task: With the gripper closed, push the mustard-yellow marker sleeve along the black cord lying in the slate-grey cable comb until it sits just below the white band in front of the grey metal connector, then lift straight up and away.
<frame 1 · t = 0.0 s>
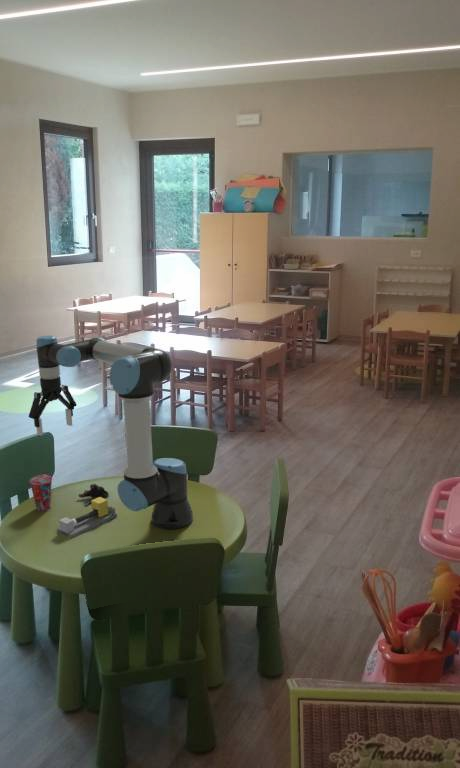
hand: (55, 429, 267), 28 cm above the table, fingers open, 13 cm apart
comb rail: (87, 523, 251), on the table
sleeve: (99, 507, 255), point 4 cm above the table, slide at 0.0 cm
stuffed animal: (94, 499, 273), on the table
cup: (43, 508, 265), on the table
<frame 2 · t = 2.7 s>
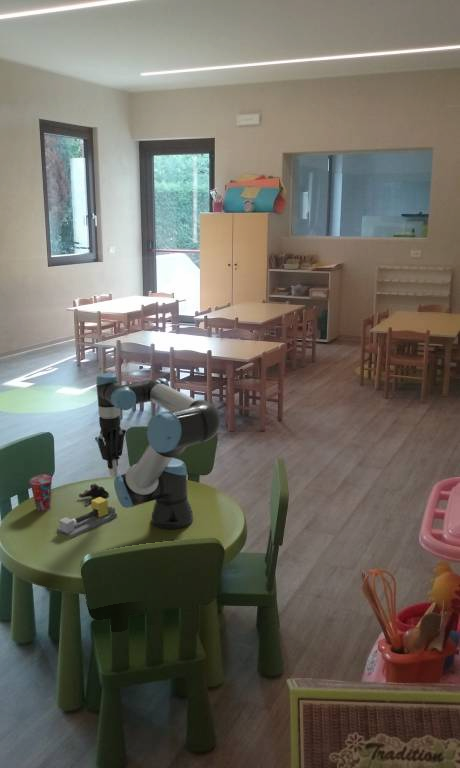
hand: (113, 475, 257), 14 cm above the table, fingers closed
nothing on the table moved.
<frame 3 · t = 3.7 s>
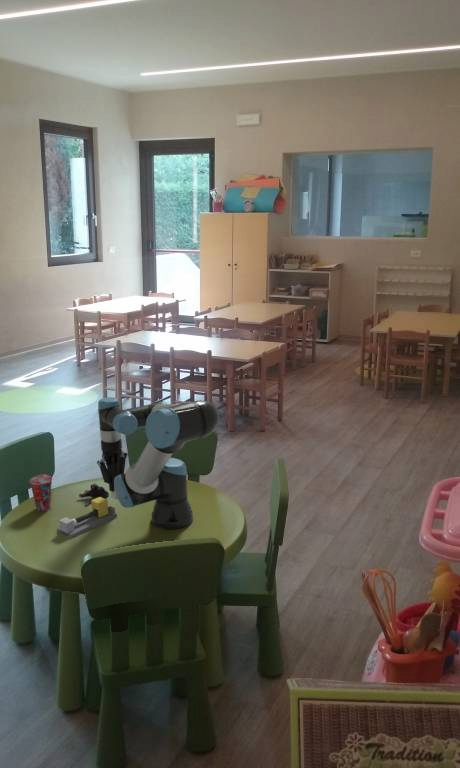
hand: (115, 498, 260), 5 cm above the table, fingers closed
nothing on the table moved.
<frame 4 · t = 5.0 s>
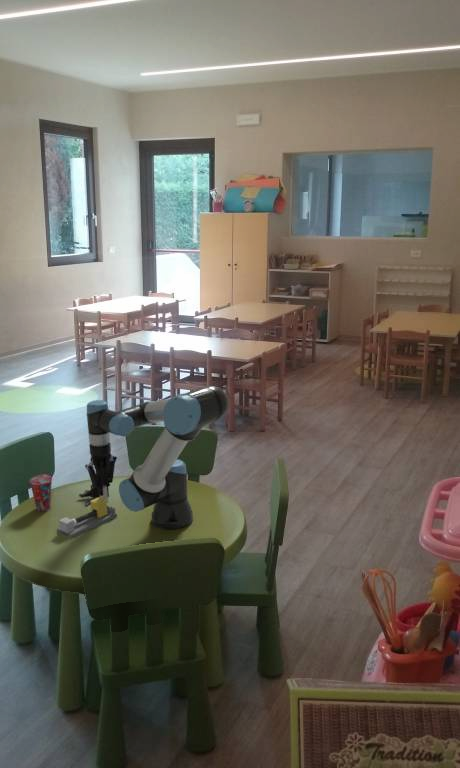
hand: (104, 502, 256), 5 cm above the table, fingers closed
sleeve: (98, 507, 254), point 4 cm above the table, slide at 0.4 cm, touching gripper
everything else where it was.
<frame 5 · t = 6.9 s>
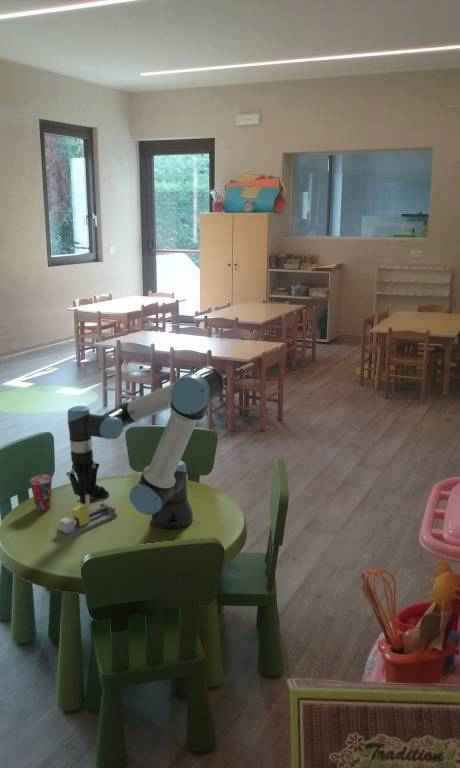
hand: (86, 510, 250), 5 cm above the table, fingers closed
sleeve: (80, 515, 248), point 4 cm above the table, slide at 8.7 cm, touching gripper
everything else where it was.
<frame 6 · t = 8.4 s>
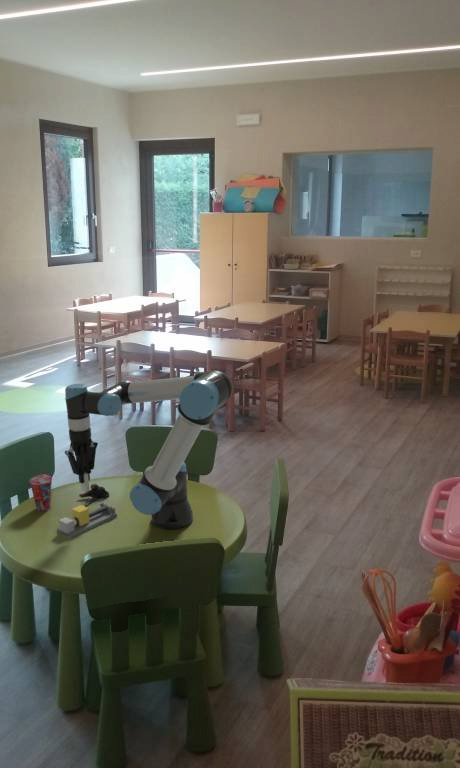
hand: (85, 490, 248), 13 cm above the table, fingers closed
sleeve: (80, 515, 248), point 4 cm above the table, slide at 8.7 cm
everything else where it was.
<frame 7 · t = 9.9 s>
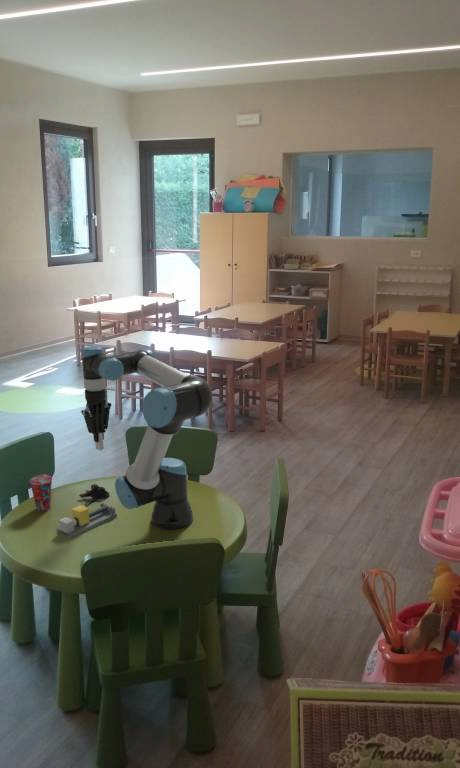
hand: (99, 448, 258), 24 cm above the table, fingers closed
nothing on the table moved.
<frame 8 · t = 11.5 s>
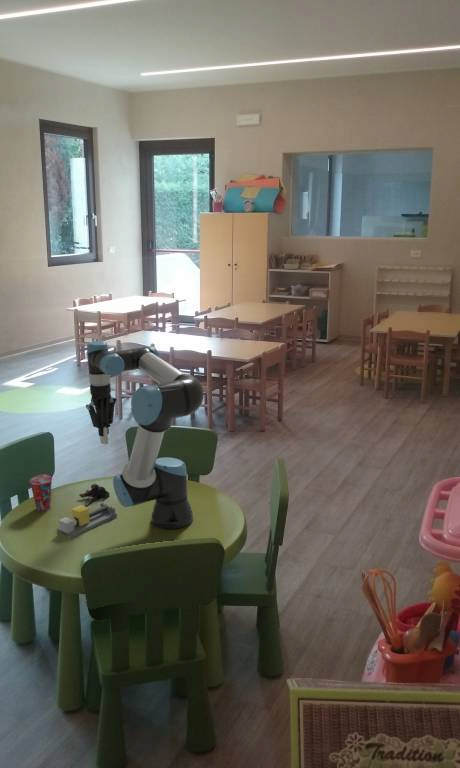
hand: (104, 443, 262), 24 cm above the table, fingers closed
nothing on the table moved.
at the end: sleeve slide at 8.7 cm; sleeve touching nothing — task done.
